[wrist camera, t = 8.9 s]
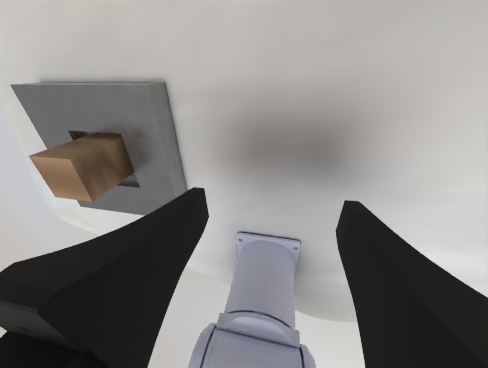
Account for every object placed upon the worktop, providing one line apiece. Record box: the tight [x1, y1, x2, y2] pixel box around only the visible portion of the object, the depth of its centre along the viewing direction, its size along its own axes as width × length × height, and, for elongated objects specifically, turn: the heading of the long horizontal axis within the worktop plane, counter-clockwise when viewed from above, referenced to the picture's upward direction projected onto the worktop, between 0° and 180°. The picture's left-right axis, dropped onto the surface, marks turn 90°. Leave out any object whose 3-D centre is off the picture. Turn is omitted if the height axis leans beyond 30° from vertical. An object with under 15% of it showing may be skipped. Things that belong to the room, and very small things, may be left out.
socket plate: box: [11, 82, 187, 215], centre depth 21 cm, size 14×14×2 cm
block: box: [29, 132, 134, 202], centre depth 19 cm, size 4×4×7 cm
